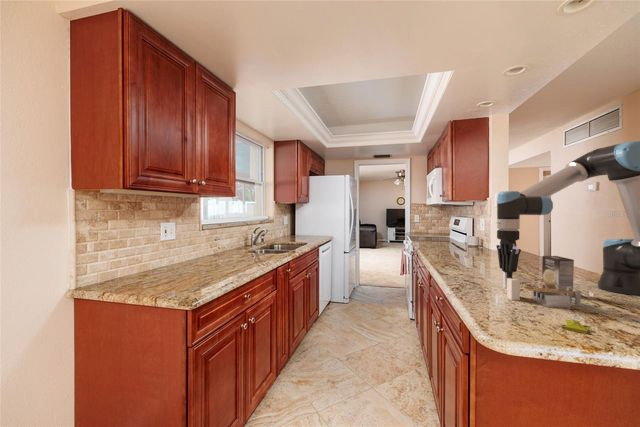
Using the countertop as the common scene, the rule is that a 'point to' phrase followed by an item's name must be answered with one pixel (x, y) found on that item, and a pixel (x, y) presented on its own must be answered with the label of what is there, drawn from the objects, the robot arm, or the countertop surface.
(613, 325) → the countertop surface
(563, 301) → the heatsink
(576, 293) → the board
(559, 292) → the strap
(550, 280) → the coffee box
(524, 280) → the cream l-shaped bracket
